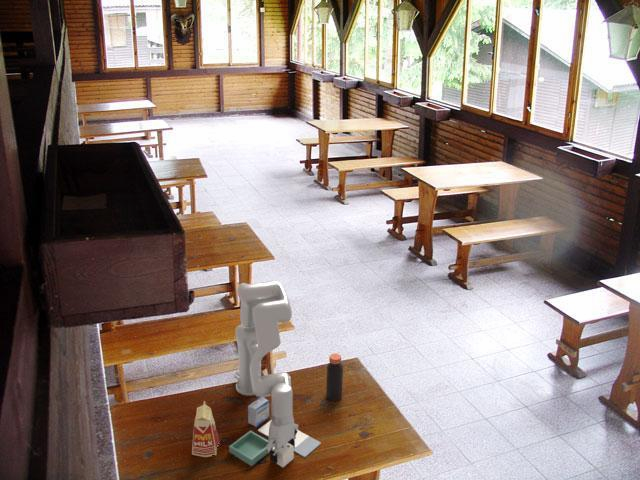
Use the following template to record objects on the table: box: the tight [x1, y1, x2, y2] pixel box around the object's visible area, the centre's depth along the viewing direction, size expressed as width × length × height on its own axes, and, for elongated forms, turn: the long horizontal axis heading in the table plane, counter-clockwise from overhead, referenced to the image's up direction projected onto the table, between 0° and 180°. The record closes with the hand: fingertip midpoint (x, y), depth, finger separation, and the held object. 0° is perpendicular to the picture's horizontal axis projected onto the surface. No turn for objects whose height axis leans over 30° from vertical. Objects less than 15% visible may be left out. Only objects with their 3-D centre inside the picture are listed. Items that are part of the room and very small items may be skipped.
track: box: [257, 419, 322, 458], centre depth 249 cm, size 24×10×1 cm, turn 52°
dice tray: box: [228, 430, 269, 467], centre depth 241 cm, size 12×12×3 cm
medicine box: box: [247, 397, 270, 428], centre depth 257 cm, size 8×4×9 cm, turn 143°
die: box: [272, 442, 295, 468], centre depth 237 cm, size 6×6×6 cm
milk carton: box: [191, 400, 221, 458], centre depth 238 cm, size 9×9×20 cm
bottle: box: [325, 353, 344, 402], centre depth 270 cm, size 7×7×20 cm
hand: (282, 454), depth 237 cm, fingers open, 9 cm apart
